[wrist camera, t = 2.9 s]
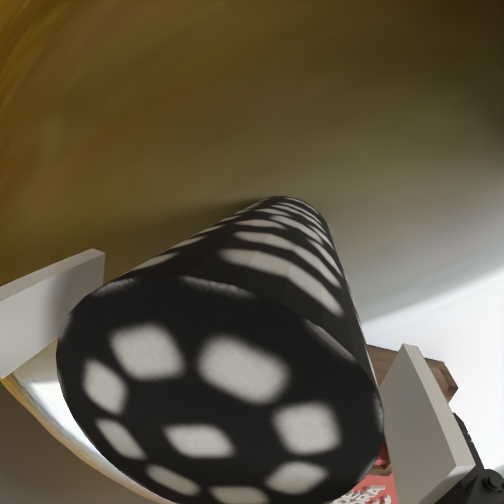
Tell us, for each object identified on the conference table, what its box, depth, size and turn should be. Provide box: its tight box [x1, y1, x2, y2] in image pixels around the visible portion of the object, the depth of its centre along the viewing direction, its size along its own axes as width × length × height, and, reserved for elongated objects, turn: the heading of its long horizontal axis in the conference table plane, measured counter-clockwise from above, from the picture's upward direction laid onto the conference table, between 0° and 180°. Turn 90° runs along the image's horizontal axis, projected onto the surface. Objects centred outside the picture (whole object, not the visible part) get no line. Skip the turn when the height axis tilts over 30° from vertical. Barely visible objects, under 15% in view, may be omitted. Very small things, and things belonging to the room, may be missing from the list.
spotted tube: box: [56, 196, 384, 504], centre depth 16 cm, size 8×8×20 cm
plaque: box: [329, 444, 398, 504], centre depth 28 cm, size 18×4×15 cm
